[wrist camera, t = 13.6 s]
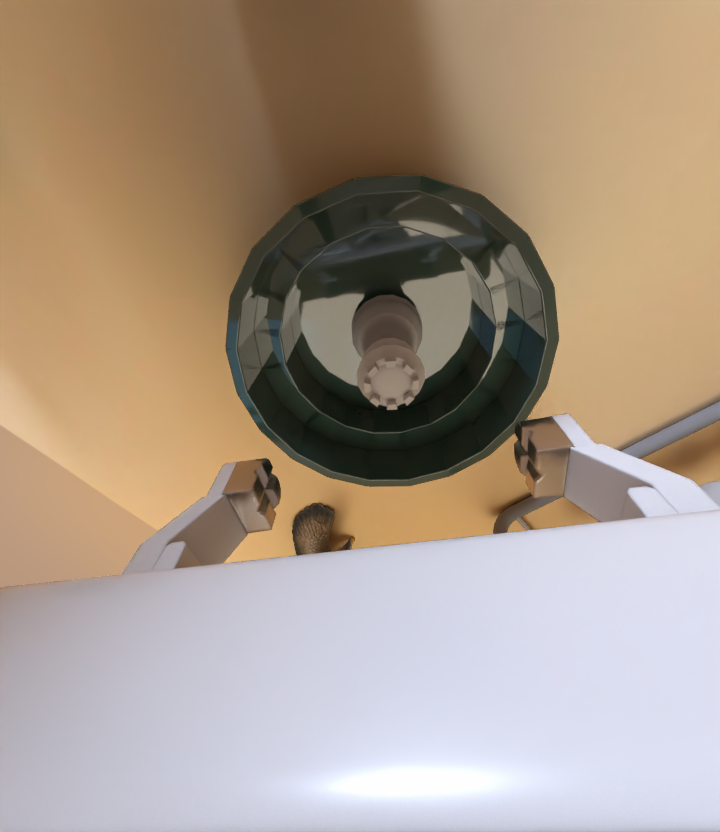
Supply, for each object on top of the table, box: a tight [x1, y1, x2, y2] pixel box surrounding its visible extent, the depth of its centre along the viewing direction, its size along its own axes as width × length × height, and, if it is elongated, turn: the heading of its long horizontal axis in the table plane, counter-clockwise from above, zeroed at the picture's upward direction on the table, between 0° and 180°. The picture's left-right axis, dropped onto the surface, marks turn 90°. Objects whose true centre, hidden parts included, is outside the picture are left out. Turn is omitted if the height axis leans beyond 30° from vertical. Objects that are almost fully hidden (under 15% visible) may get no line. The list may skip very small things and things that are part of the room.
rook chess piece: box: [351, 295, 425, 410], centre depth 20 cm, size 4×4×8 cm
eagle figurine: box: [292, 504, 355, 555], centre depth 33 cm, size 8×7×9 cm
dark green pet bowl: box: [226, 174, 559, 487], centre depth 21 cm, size 16×16×6 cm
